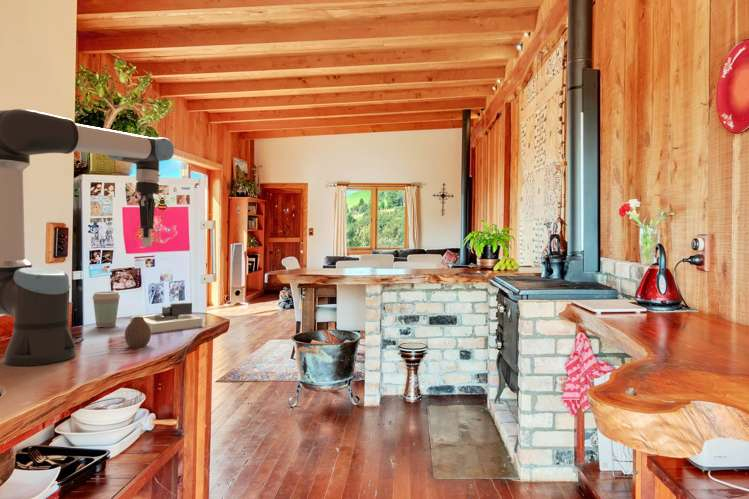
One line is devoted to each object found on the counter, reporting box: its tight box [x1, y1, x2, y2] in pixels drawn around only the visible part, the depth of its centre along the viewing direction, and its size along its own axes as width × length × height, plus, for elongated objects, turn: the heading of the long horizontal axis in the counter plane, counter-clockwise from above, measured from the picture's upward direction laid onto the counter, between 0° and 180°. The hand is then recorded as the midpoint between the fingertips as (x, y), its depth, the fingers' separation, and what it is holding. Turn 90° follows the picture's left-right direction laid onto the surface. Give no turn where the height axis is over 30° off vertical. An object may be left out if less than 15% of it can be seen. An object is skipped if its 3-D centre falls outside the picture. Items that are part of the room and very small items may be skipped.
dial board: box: [129, 313, 203, 334], centre depth 168 cm, size 18×18×3 cm
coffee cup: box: [91, 291, 121, 328], centre depth 164 cm, size 8×8×12 cm
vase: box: [124, 315, 152, 349], centre depth 137 cm, size 7×7×9 cm
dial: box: [154, 302, 193, 322], centre depth 169 cm, size 12×8×6 cm, turn 126°
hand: (146, 246), depth 170 cm, fingers closed
